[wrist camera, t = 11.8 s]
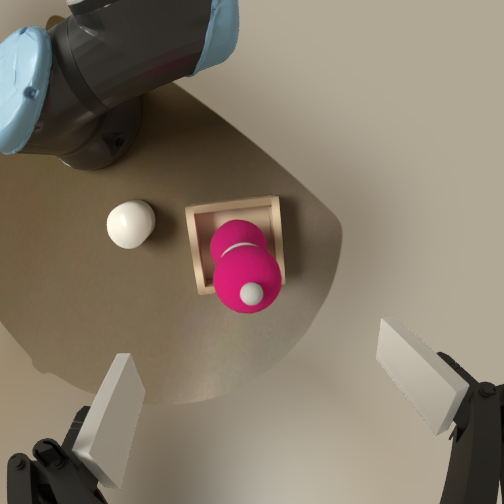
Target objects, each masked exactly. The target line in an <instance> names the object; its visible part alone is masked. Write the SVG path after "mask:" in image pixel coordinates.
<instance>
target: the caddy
mask: <svg viewBox="0 0 504 504" xmlns="http://www.w3.org/2000/svg"><path fill="white" fill-rule="evenodd" d="M185 211H186V218H187V225H188V232H189V239H190V245H191V252H192V258H193V264H194V270H195V276H196V282H197V288H198V293H199V295H203V294H211V293H216V291H215V288H214V284H213V274H214V269H215V266H216V265H215V264H214V262H213V260H212V257H211V252H210V243H211V239H212V237H213V235H214V233H215V232H216V230H217V229H218V228H219V227H220V226H222V225H223V224H224V223H226V222H227V221H230V220H235V219H239V220H245V221H249V222H251V223H253V224H255V225H256V226H257V227H258V228H259V229H260V230H261V231H262V232H263V234H264V236H265V238H266V241H267V247H268V252H269V253H270V254H271V255H272V256H273V257H274V258H275V259H276V261H277V263H278V264H279V267H280V271H281V276H282V284H285V270H284V256H283V242H282V230H281V217H280V206H279V196H276V195H264V196H255V197H245V198H236V199H228V200H219V201H212V202H204V203H196V204H189V205H187V206H186V207H185Z"/></svg>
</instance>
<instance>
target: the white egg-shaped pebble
mask: <svg viewBox="0 0 504 504" xmlns="http://www.w3.org/2000/svg"><path fill="white" fill-rule="evenodd" d="M155 221H156V220H155V214H154V212H153V210H152V208H151V207H150V206H149V205H148V204H147V203H146V202H144V201H142V200H138V199H134V200H130V201H127V202H125V203H123V204H121V205H120V206H118V207H116V208H115V209H113V210H112V211H111V213H110V214H109V217H108V220H107V230H108V233H109V236H110V238H111V239H112V240H113V241H114V243H116V244H117V245H118V246H120V247H123V248H127V249H131V248H135V247H137V246H139V245H140V244H141V243H142V242H143V241H144V240H145V239H146V238H147V237H148V236H149V235H150V234H151V233H152V231H153V230H154V227H155Z"/></svg>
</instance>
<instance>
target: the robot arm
mask: <svg viewBox="0 0 504 504" xmlns="http://www.w3.org/2000/svg"><path fill="white" fill-rule="evenodd" d="M67 4H68V6H69V8H70V10H71V12H72V15H71V16H69V17H68V18H66V19H65V20H63V21H61V22H60V23H58V24H57V25H55V26H54V27H52V28H51V29H49V30H48V31H46V30H45V29H44V28H42V27H34V26H31V27H29V28H28V27H24V28H21V29H19V30H17V31H15V32H14V33H13V34H11V35H10V36H8V37H7V38H6V39H5V40H4V41H3V42H2V43H1V44H0V152H2V153H4V154H7V155H11V154H12V155H13V153H23V154H42V155H56V156H57V157H58V158H59V159H60V160H61V161H62V162H63V163H64V164H66V165H67V166H69V167H71V168H74V169H78V170H97V169H101V168H104V167H106V166H109V165H110V164H112V163H114V162H115V161H117V160H118V159H119V158H120V157H121V156H122V155H124V153H125V152H126V151H127V150H128V149H129V147H130V146H131V145H132V143H133V141H134V140H135V138H136V135H137V133H138V130H139V127H140V123H141V117H142V107H141V101H140V98H139V96H140V95H142V94H144V93H146V92H148V91H151V90H153V89H155V88H157V87H160V86H162V85H165V84H167V83H169V82H172V81H174V80H177V79H179V78H182V77H185V76H186V77H191V76H194V75H195V74H196V73H197V72H199V71H201V70H204V69H206V68H209V67H211V66H214V65H217V64H220V63H222V62H224V61H225V60H226V59H227V58H228V57H229V56H230V55H231V54H232V52H233V51H234V49H235V46H236V43H237V39H238V32H239V7H238V0H67ZM376 359H377V361H378V362H379V363H380V364H381V366H382V367H383V368H384V369H385V371H386V372H387V373H388V374H389V376H390V377H391V378H392V379H393V381H394V382H395V383H396V385H397V386H398V387H399V389H400V390H401V391H402V392H403V394H404V395H405V396H406V398H407V399H408V400H409V401H410V403H411V404H412V405H413V406H414V408H415V409H416V411H417V412H418V413H419V414H420V416H421V417H422V418H423V420H424V421H425V422H426V424H427V425H428V426H429V428H430V429H431V430H432V432H433V433H434V434H435V436H437V435H439V434H440V433H442V432H444V431H446V430H448V429H449V427H450V425H451V423H452V421H454V422H455V423H456V426H455V428H454V430H453V432H452V433H451V435H450V437H449V440H451V438H452V437H453V443H452V451H451V457H450V462H449V467H448V472H447V476H446V481H445V485H444V489H443V493H442V497H441V501H440V504H496V503H497V496H498V488H499V479H500V485H501V494H502V504H504V384H502V385H499V386H495V385H494V384H492V383H490V382H481V383H478V382H477V381H476V380H475V379H474V378H473V377H472V376H471V375H470V374H469V373H468V372H466V371H465V370H464V369H463V368H462V367H460V365H459V364H458V363H455V361H454V360H453V359H452V358H451V357H450V356H449V355H447V354H444V353H442V352H438V353H435V352H434V351H433V350H432V349H431V348H429V347H428V346H427V345H426V344H425V343H424V342H423V341H421V339H420V338H418V337H417V336H416V335H415V334H414V333H413V332H412V331H411V330H409V329H408V328H407V327H406V326H405V325H404V324H403V323H402V322H400V321H399V320H398V319H397V318H396V317H395V316H393V315H390V316H386V317H383V318H381V324H380V333H379V340H378V348H377V354H376ZM145 393H146V392H145V389H144V387H143V385H142V382H141V380H140V377H139V375H138V372H137V369H136V367H135V364H134V362H133V359H132V356H131V353H117V355H116V357H115V359H114V361H113V363H112V365H111V367H110V369H109V371H108V373H107V375H106V377H105V379H104V381H103V383H102V385H101V387H100V389H99V391H98V393H97V395H96V398H95V399H94V402H93V403H92V406H91V407H90V406H84V407H83V408H82V409H81V410H80V411H78V412H77V414H76V416H75V418H74V420H73V421H74V422H73V423H72V425H71V427H70V429H69V431H68V433H67V435H66V437H65V439H64V442H63V444H62V446H61V447H60V445H59V444H58V443H57V442H56V441H55V440H53V439H49V438H46V439H42V440H40V441H38V442H37V443H36V444H35V445H34V448H33V456H34V457H35V458H36V459H37V460H38V461H31V460H30V459H29V458H28V456H27V455H25V454H23V453H17V454H14V455H13V456H11V458H10V459H9V461H8V465H7V502H8V504H108V503H107V501H106V500H105V498H104V496H103V495H102V493H101V492H100V490H99V489H98V488H97V484H98V481H99V482H100V483H101V484H102V485H103V486H104V487H107V488H113V489H119V490H120V489H121V486H122V481H123V477H124V472H125V468H126V464H127V460H128V456H129V452H130V448H131V444H132V440H133V436H134V433H135V428H136V425H137V421H138V417H139V414H140V410H141V407H142V404H143V400H144V397H145ZM453 435H454V436H453Z"/></svg>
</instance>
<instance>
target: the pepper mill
mask: <svg viewBox="0 0 504 504" xmlns="http://www.w3.org/2000/svg"><path fill="white" fill-rule="evenodd" d="M210 252H211V257H212V260H213V262H214V264H215V265H216V266H215V269H214V274H213V284H214V288H215V291H216V294H217V296H218V297H219V299H220V300H221V302H222V303H223V304H224V305H226V306H227V307H228V308H230V309H231V310H234V311H236V312H239V313H255V312H259V311H261V310H263V309H265V308H267V307H268V306H269V305H270V304H271V303H272V302H273V301H274V300H275V299H276V297H277V296H278V294H279V292H280V289H281V284H282V276H281V271H280V267H279V264H278V263H277V261H276V259H275V258H274V257H273V256H272V255H271V254H270V253H269V252H268V247H267V241H266V238H265V236H264V234H263V232H262V231H261V230H260V229H259V228H258V227H257V226H256V225H255V224H253V223H251V222H249V221H245V220H239V219H235V220H230V221H227V222H226V223H224V224H223V225H222V226H220V227H219V228H218V229H217V230H216V232H215V233H214V235H213V237H212V239H211V243H210Z"/></svg>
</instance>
